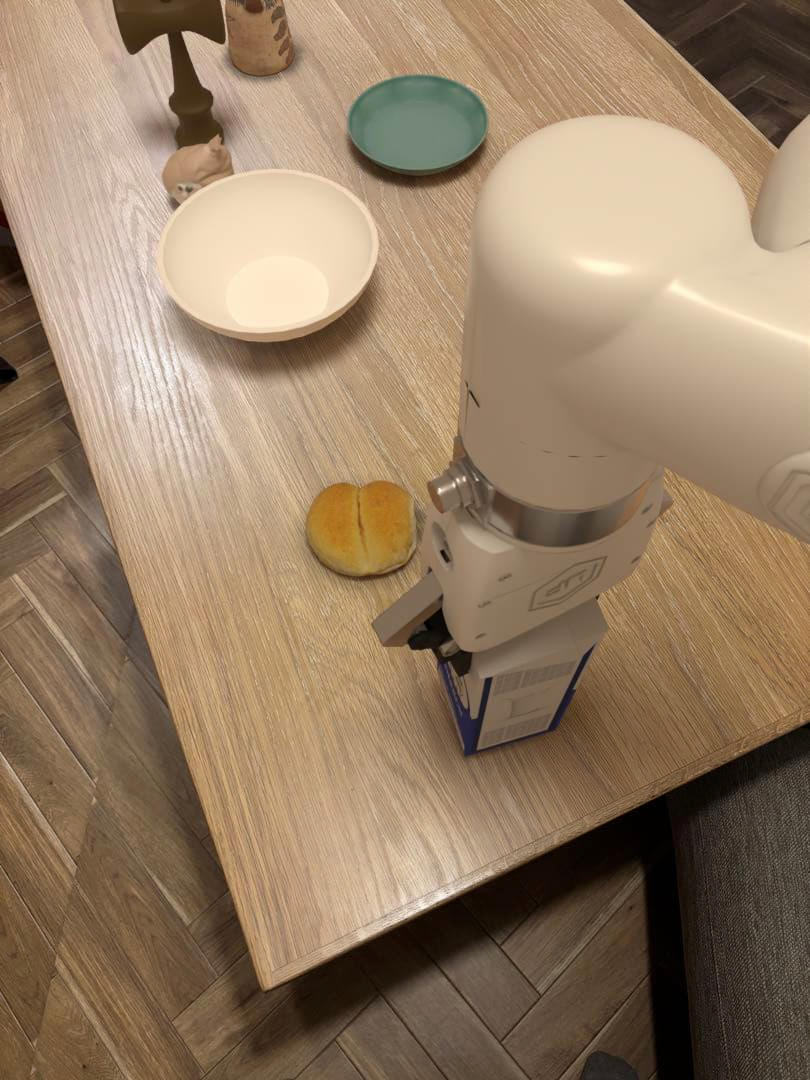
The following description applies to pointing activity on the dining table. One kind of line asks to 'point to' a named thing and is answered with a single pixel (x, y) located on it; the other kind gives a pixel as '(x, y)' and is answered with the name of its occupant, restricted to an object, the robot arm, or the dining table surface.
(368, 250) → the bowl
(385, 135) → the saucer
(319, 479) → the dining table surface
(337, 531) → the bread roll
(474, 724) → the milk carton
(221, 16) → the kendama
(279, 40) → the figurine
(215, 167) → the garlic bulb
